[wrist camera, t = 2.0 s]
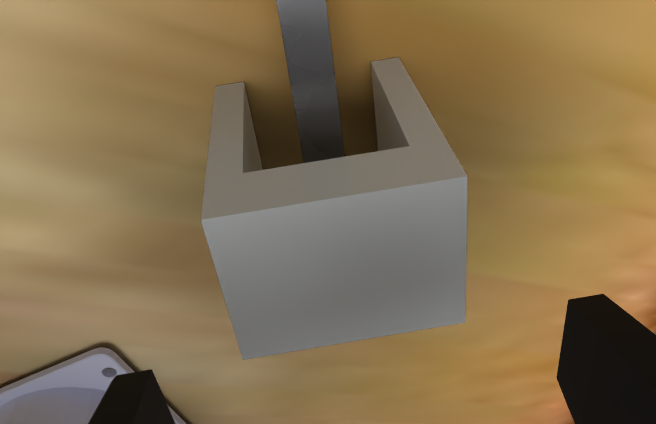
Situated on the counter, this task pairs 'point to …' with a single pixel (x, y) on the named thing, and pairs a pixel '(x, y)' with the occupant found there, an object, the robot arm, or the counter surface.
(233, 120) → the grey u-shaped block
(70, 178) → the counter surface
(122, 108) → the counter surface
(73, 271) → the counter surface
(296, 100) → the grey lever handle
